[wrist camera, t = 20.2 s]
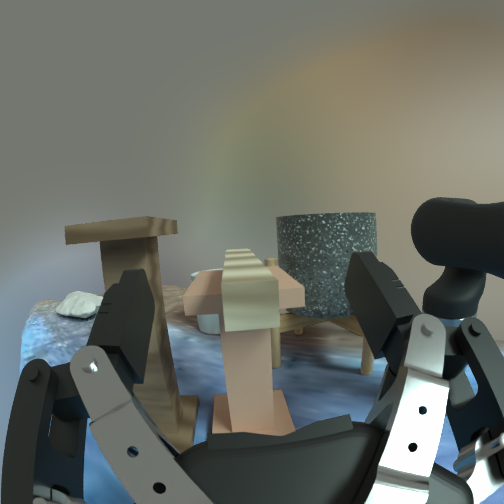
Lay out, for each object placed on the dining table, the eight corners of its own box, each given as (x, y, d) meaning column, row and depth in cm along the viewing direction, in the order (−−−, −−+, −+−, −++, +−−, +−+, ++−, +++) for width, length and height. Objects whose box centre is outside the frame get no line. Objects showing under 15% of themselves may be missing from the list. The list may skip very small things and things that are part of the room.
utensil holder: (187, 329, 83) (180, 274, 81) (218, 316, 95) (213, 267, 93) (222, 339, 74) (217, 277, 73) (253, 323, 87) (249, 269, 85)
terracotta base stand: (301, 454, 29) (304, 287, 27) (212, 463, 29) (182, 296, 26) (281, 395, 45) (277, 265, 43) (215, 401, 44) (199, 271, 42)
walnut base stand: (190, 463, 28) (146, 216, 25) (123, 457, 28) (64, 226, 25) (199, 401, 44) (176, 220, 41) (147, 400, 44) (117, 226, 41)
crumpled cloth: (95, 299, 118) (90, 281, 116) (124, 312, 97) (117, 290, 95) (55, 315, 101) (48, 297, 99) (72, 335, 79) (63, 311, 77)
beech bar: (280, 327, 17) (278, 280, 17) (225, 331, 17) (221, 284, 16) (249, 268, 43) (248, 248, 42) (227, 269, 42) (226, 249, 42)
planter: (267, 367, 57) (260, 217, 54) (295, 331, 77) (291, 218, 74) (371, 375, 48) (377, 211, 45) (373, 334, 68) (374, 214, 65)
